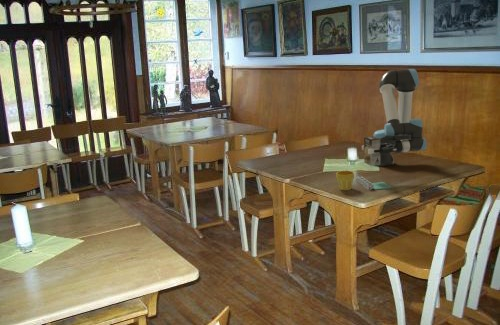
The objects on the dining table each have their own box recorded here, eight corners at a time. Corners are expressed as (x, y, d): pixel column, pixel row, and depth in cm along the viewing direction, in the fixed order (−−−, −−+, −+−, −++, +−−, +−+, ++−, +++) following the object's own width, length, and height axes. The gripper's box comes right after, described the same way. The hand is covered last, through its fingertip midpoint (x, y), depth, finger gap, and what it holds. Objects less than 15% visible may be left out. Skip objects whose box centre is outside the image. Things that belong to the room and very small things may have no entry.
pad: (383, 182, 303) (383, 181, 303) (391, 188, 291) (391, 187, 291) (367, 184, 302) (367, 183, 301) (375, 189, 290) (375, 189, 290)
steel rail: (361, 180, 310) (361, 175, 309) (373, 189, 291) (373, 184, 290) (356, 181, 310) (356, 176, 309) (368, 190, 290) (368, 184, 290)
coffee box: (363, 162, 308) (363, 136, 304) (373, 161, 310) (372, 135, 306) (371, 165, 299) (371, 139, 295) (380, 164, 301) (380, 138, 297)
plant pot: (334, 187, 301) (334, 171, 298) (351, 185, 301) (351, 169, 299) (339, 192, 290) (338, 175, 288) (356, 190, 291) (356, 174, 289)
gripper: (408, 156, 294) (372, 160, 292) (393, 148, 316) (358, 151, 313) (408, 143, 293) (372, 147, 290) (393, 136, 314) (358, 140, 311)
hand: (365, 149), depth 302 cm, fingers closed on coffee box, 10 cm apart
